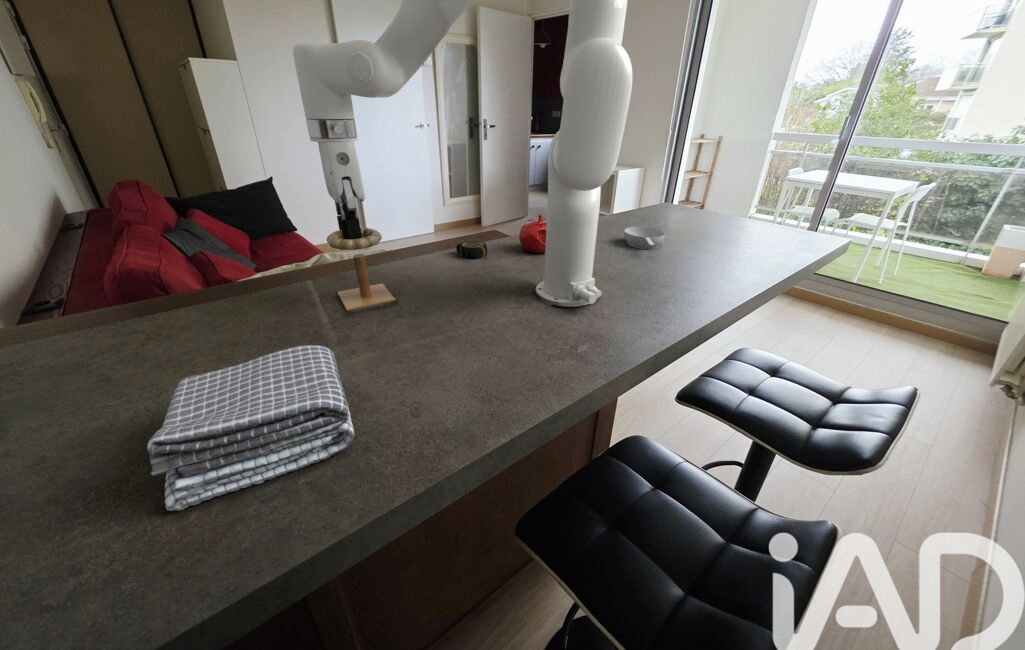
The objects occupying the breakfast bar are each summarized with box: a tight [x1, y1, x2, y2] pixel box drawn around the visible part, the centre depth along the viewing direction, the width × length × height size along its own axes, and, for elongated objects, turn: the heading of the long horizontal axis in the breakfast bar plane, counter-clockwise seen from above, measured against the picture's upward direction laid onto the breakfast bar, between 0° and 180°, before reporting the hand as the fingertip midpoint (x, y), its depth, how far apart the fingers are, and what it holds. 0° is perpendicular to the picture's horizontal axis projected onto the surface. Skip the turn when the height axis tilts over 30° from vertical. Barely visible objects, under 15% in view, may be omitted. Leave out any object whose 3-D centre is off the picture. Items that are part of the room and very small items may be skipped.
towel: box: [146, 344, 355, 512], centre depth 46 cm, size 15×18×8 cm
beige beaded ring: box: [326, 227, 383, 251], centre depth 75 cm, size 9×9×2 cm
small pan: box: [623, 226, 666, 250], centre depth 111 cm, size 11×18×4 cm, turn 172°
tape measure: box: [455, 240, 488, 260], centre depth 103 cm, size 7×7×4 cm
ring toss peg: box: [337, 253, 396, 312], centre depth 79 cm, size 9×9×9 cm
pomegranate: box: [518, 213, 547, 254], centre depth 108 cm, size 10×10×9 cm
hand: (351, 237), depth 78 cm, fingers closed on beige beaded ring, 2 cm apart
